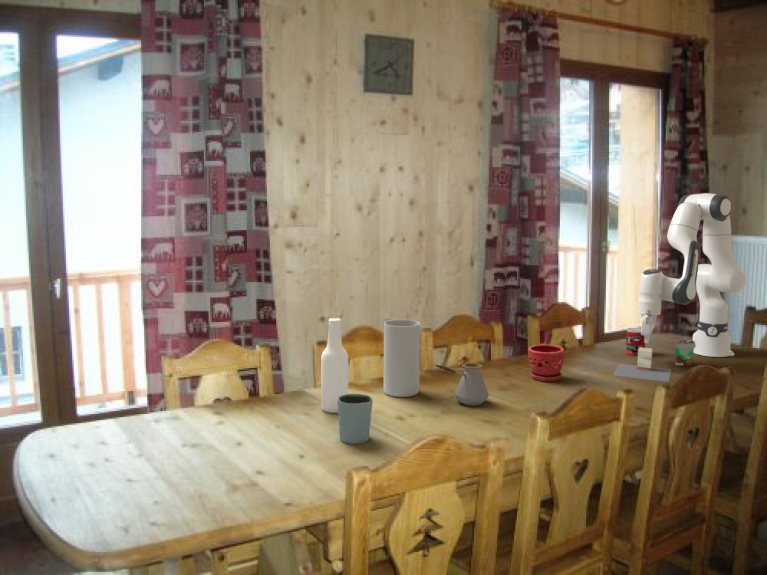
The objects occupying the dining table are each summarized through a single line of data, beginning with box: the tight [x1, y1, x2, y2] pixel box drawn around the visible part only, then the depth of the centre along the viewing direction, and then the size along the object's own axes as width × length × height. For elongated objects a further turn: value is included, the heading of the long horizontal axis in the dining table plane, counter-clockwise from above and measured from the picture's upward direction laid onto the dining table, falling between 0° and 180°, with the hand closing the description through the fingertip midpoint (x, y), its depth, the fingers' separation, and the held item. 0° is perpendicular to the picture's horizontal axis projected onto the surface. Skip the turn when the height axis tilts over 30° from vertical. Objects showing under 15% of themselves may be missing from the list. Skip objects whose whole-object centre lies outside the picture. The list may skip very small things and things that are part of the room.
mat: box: [612, 363, 673, 383], centre depth 284 cm, size 20×20×1 cm
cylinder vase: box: [383, 319, 421, 398], centre depth 253 cm, size 12×12×25 cm
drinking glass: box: [337, 393, 374, 445], centre depth 208 cm, size 10×10×12 cm
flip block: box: [636, 347, 654, 371], centre depth 288 cm, size 5×5×8 cm
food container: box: [674, 337, 696, 367], centre depth 296 cm, size 12×6×10 cm, turn 143°
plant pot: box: [527, 344, 565, 383], centre depth 274 cm, size 13×13×12 cm
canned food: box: [625, 327, 646, 357], centre depth 314 cm, size 8×8×11 cm
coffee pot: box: [432, 362, 490, 407], centre depth 241 cm, size 21×12×15 cm, turn 120°
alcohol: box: [320, 317, 349, 414], centre depth 233 cm, size 9×9×30 cm
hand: (646, 342), depth 296 cm, fingers closed
